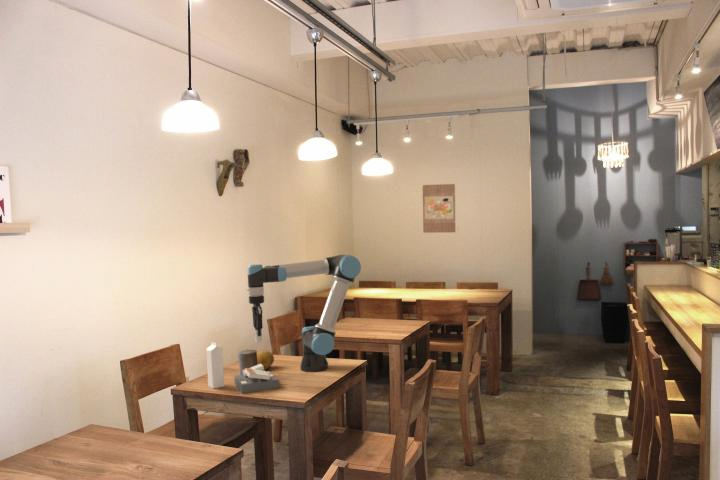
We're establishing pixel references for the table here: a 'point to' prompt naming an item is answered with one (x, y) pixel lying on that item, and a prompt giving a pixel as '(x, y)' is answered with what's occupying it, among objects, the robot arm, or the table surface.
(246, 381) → the grey tray
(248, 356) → the pillar candle
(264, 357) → the potato
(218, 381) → the milk
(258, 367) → the rocker
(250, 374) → the white flat box
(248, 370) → the rocker
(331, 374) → the table surface
